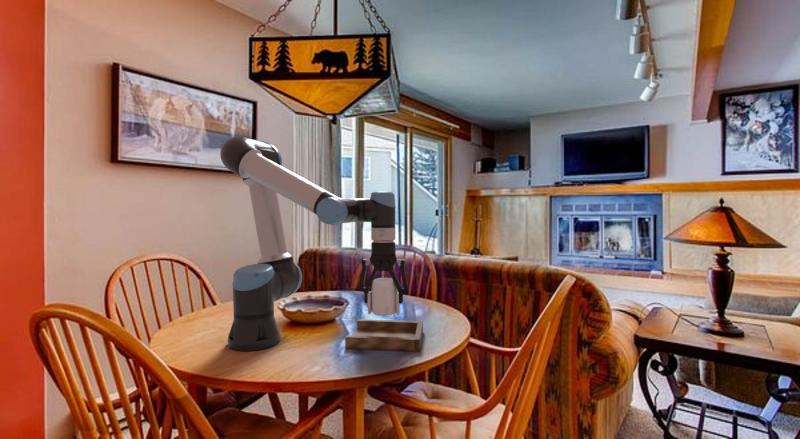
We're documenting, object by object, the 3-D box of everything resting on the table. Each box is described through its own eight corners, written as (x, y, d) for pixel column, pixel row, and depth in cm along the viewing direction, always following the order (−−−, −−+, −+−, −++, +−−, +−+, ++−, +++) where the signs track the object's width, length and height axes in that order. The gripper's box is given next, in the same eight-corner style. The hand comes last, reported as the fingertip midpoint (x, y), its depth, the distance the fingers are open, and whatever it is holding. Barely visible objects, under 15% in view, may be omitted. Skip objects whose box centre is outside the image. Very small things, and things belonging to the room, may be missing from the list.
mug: (401, 318, 120) (401, 284, 120) (374, 320, 119) (373, 285, 118) (395, 308, 132) (395, 277, 131) (370, 309, 131) (369, 278, 130)
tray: (345, 348, 118) (345, 337, 118) (358, 329, 136) (358, 319, 136) (419, 351, 116) (419, 339, 115) (422, 331, 134) (422, 321, 133)
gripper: (347, 242, 122) (348, 315, 123) (416, 242, 120) (416, 317, 121) (352, 239, 129) (353, 309, 130) (417, 240, 127) (418, 310, 128)
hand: (383, 313), depth 125 cm, fingers closed on mug, 8 cm apart
